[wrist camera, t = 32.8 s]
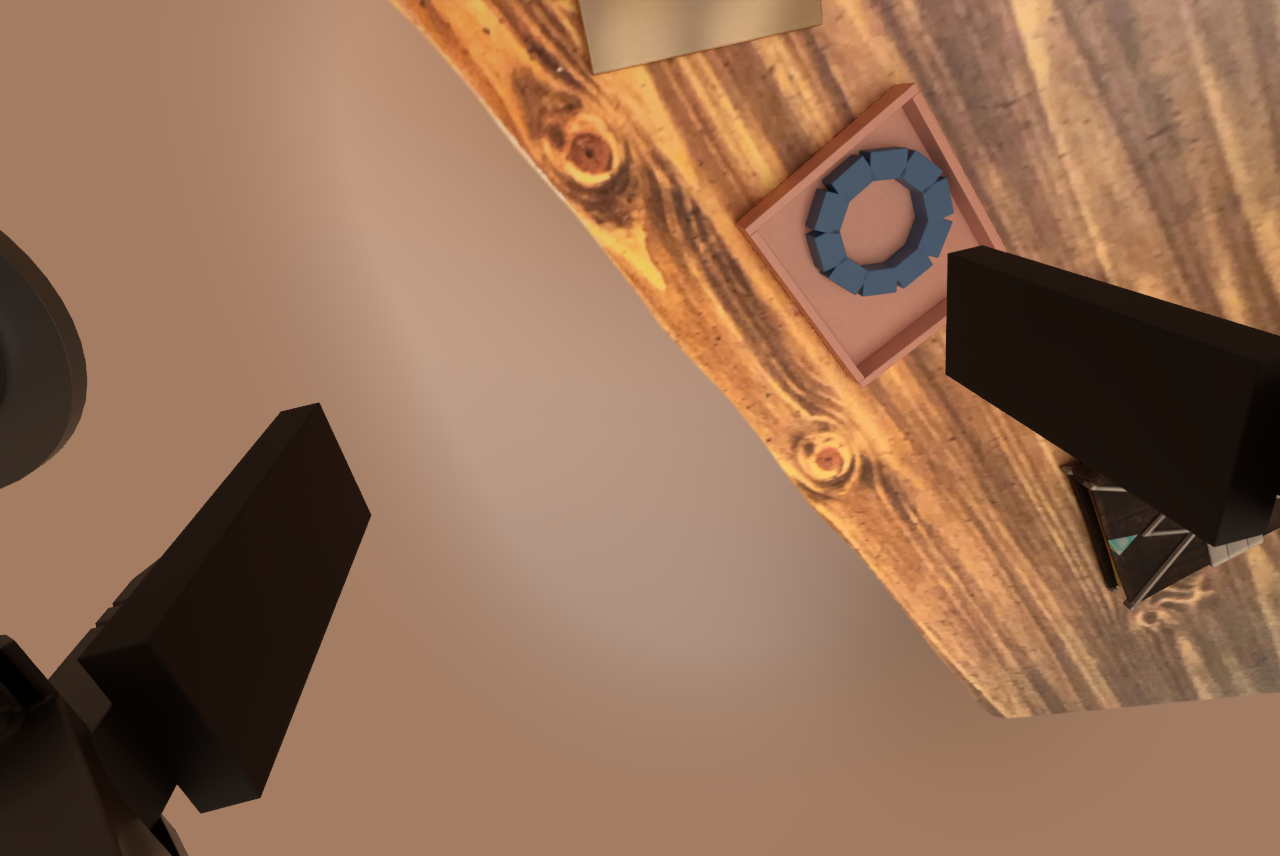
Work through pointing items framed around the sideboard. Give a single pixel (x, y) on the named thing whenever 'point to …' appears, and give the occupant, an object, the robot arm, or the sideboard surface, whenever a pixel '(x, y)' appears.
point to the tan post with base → (682, 27)
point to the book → (1145, 538)
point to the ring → (924, 234)
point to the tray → (869, 239)
